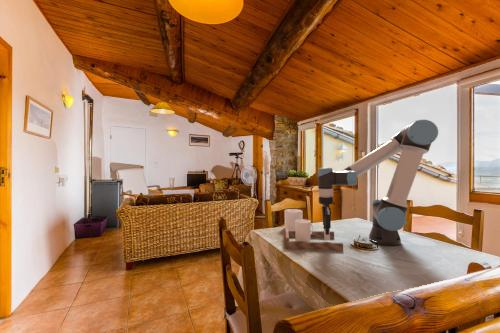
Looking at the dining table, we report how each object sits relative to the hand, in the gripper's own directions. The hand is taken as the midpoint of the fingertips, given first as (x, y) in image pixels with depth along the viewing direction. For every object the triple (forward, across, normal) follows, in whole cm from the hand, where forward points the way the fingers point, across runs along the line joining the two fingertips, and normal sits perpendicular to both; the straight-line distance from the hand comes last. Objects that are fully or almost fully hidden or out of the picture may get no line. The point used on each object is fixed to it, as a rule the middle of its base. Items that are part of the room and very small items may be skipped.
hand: (327, 239), depth 128 cm
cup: (+2, -27, -16) cm, 32 cm away
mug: (+2, 0, -12) cm, 12 cm away
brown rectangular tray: (+2, 0, -8) cm, 8 cm away
